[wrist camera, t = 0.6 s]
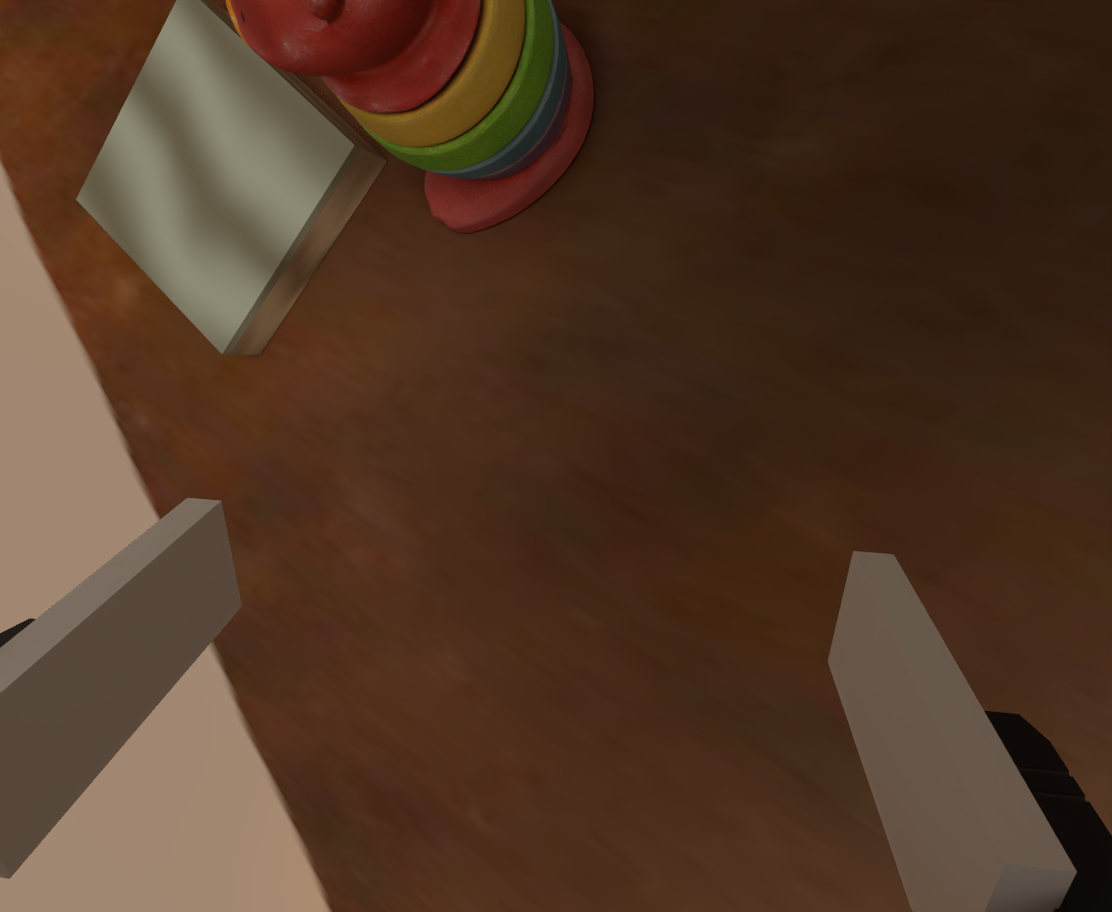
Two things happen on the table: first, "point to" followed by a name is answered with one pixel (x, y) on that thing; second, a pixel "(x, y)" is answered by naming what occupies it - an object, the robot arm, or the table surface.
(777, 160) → the table surface
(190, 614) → the robot arm
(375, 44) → the stacking bear
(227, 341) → the plinth
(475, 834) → the table surface
